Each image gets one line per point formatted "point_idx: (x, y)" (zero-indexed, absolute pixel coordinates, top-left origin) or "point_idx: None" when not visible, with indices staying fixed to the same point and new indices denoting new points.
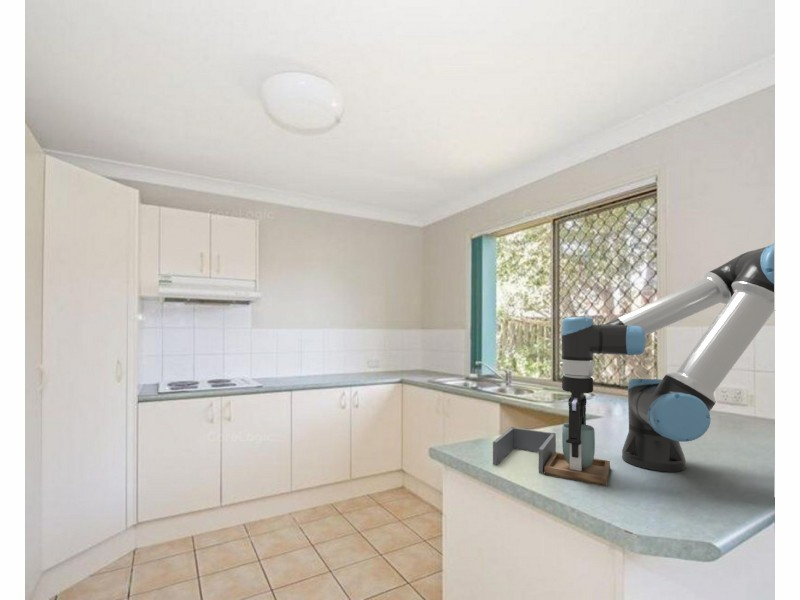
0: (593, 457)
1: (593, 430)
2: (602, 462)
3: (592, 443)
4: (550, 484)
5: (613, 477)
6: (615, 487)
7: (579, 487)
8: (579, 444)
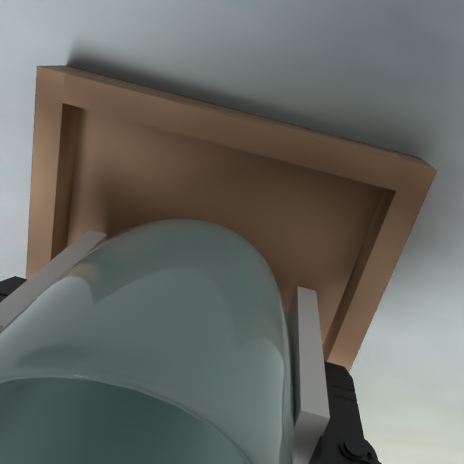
0: (230, 237)
1: (186, 389)
2: (67, 121)
3: (244, 311)
4: (440, 420)
5: (234, 76)
6: (424, 101)
7: (460, 302)
8: (358, 439)
